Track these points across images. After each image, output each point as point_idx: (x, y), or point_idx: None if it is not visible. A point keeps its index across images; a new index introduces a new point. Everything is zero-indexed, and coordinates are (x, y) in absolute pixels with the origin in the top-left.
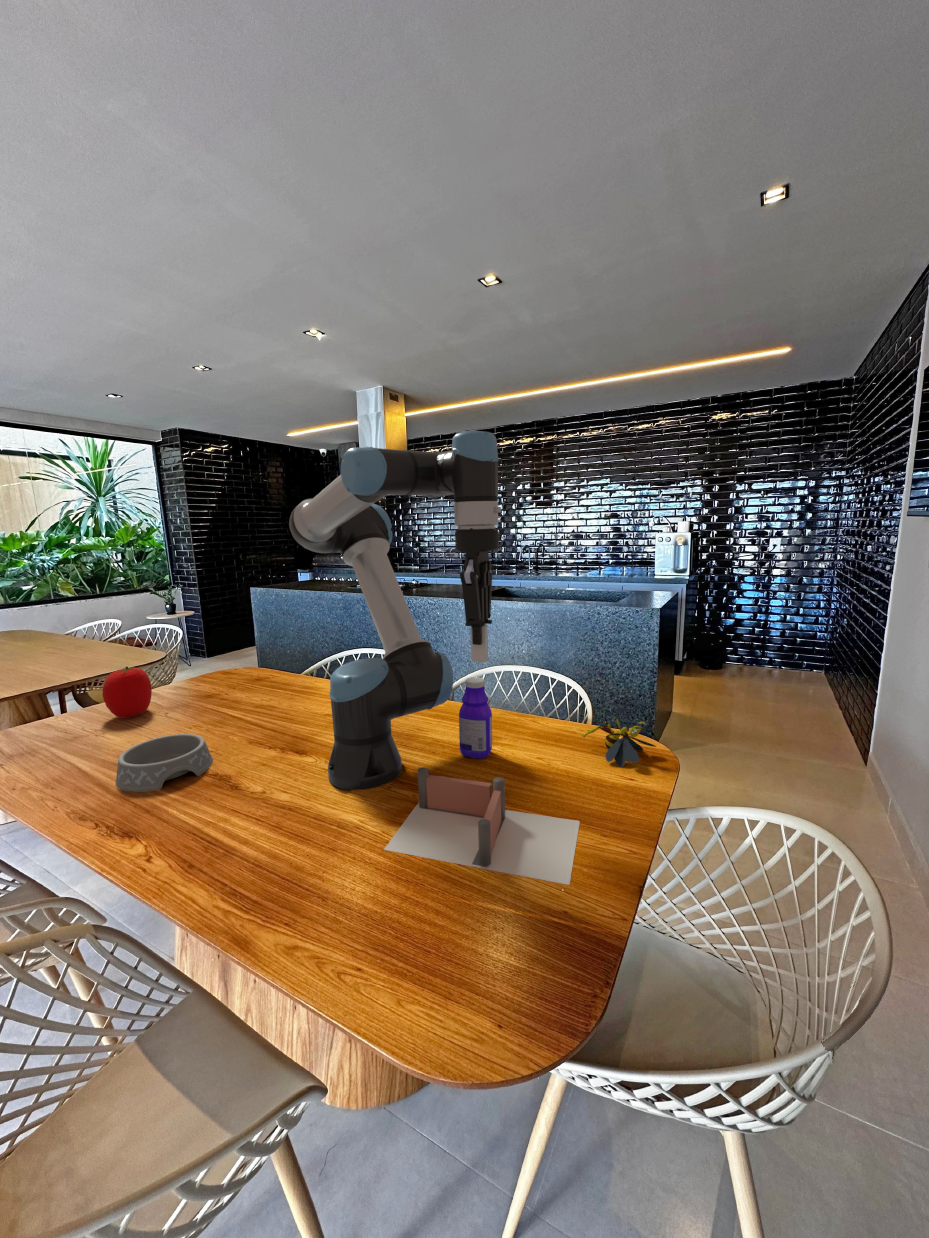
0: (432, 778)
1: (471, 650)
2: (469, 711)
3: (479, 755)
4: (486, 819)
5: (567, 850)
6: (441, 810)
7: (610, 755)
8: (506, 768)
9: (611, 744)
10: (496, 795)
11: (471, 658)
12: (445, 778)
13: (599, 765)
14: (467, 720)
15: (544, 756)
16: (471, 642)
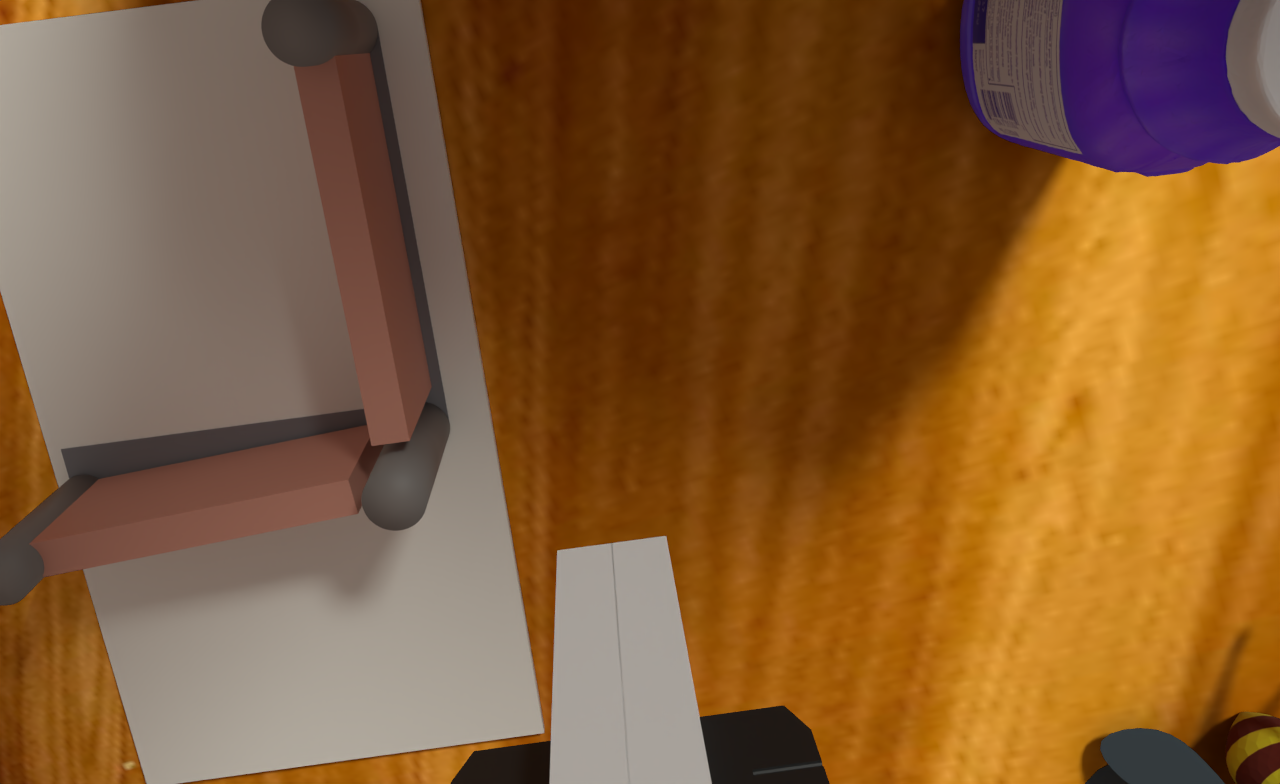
0: (303, 103)
1: (557, 628)
2: (1092, 30)
3: (967, 93)
4: (28, 578)
5: (328, 738)
6: None
7: (1143, 756)
8: (907, 280)
9: (1235, 762)
10: (306, 509)
11: (559, 569)
12: (341, 178)
13: (1079, 696)
14: (1057, 11)
15: (1108, 427)
16: (555, 700)
